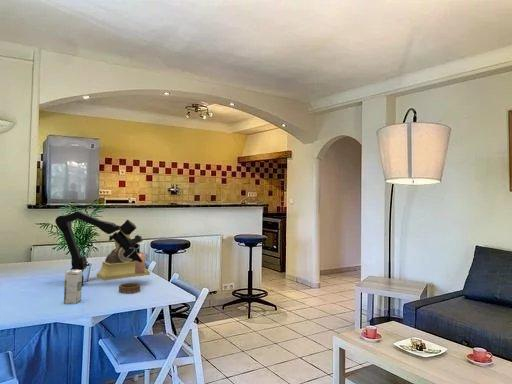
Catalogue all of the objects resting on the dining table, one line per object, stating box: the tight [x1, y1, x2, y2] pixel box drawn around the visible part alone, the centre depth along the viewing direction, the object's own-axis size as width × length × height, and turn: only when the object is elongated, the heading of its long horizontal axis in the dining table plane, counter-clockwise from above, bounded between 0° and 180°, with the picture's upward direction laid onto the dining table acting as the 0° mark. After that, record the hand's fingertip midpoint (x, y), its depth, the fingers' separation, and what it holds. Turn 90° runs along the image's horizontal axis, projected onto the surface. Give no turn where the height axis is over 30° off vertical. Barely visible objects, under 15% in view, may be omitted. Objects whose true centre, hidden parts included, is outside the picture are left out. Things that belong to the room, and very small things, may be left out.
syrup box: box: [63, 269, 83, 305], centre depth 177 cm, size 6×6×14 cm
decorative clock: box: [96, 229, 151, 281], centre depth 235 cm, size 28×13×30 cm, turn 131°
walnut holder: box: [118, 282, 141, 295], centre depth 198 cm, size 10×10×3 cm
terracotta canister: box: [135, 251, 146, 274], centre depth 212 cm, size 5×5×11 cm
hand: (142, 261), depth 212 cm, fingers closed on terracotta canister, 5 cm apart
